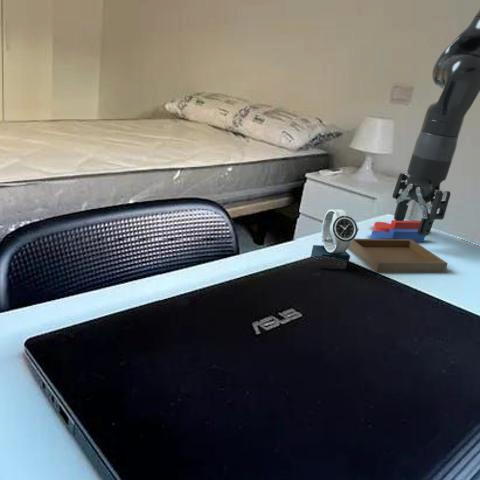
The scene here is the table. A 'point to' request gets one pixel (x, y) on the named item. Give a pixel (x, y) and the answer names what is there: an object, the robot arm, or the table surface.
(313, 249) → the watch
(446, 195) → the robot arm
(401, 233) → the blue spoon
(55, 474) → the table surface
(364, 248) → the tray
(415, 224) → the red spoon
